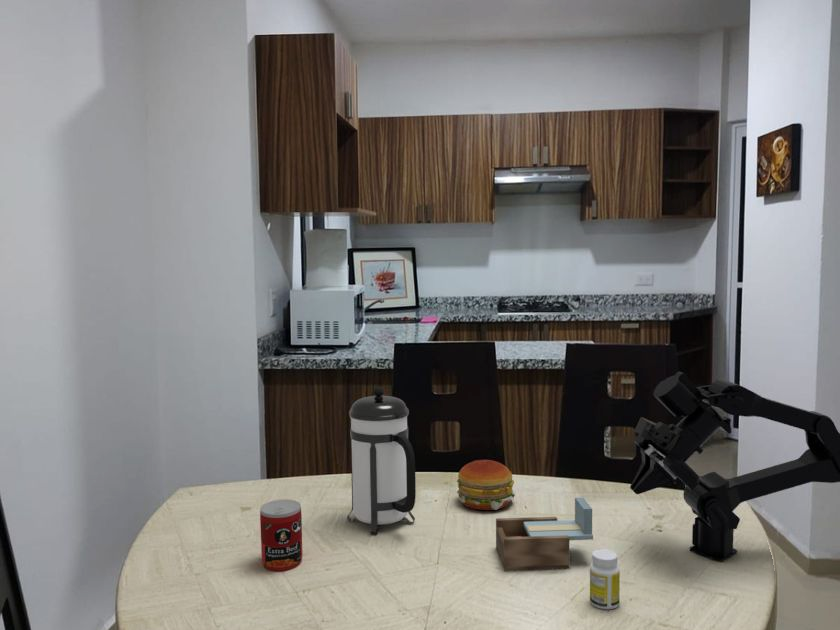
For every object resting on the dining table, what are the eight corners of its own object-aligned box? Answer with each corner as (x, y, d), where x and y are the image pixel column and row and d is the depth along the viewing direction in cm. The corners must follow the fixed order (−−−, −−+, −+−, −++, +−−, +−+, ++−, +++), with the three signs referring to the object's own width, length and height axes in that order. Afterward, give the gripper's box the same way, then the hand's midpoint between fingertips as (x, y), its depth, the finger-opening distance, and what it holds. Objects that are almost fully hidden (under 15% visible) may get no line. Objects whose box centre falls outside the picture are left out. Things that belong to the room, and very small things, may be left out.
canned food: (262, 574, 126) (260, 516, 125) (260, 556, 133) (259, 501, 132) (304, 568, 128) (303, 511, 127) (300, 551, 135) (299, 497, 134)
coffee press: (334, 534, 143) (331, 393, 140) (359, 506, 159) (356, 379, 156) (415, 542, 139) (413, 396, 136) (432, 512, 154) (431, 381, 152)
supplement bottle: (614, 595, 116) (614, 547, 116) (623, 609, 112) (624, 560, 111) (586, 596, 116) (586, 548, 116) (594, 610, 112) (594, 561, 111)
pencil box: (556, 545, 136) (556, 516, 136) (569, 569, 126) (569, 537, 126) (496, 547, 136) (495, 518, 135) (504, 571, 126) (504, 539, 125)
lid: (581, 523, 135) (582, 496, 134) (593, 539, 127) (593, 510, 127) (523, 525, 134) (523, 497, 134) (531, 541, 127) (531, 512, 126)
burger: (449, 496, 165) (449, 456, 164) (502, 490, 168) (502, 451, 167) (467, 517, 152) (467, 473, 151) (524, 510, 155) (524, 467, 154)
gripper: (644, 394, 139) (589, 448, 139) (683, 415, 120) (620, 479, 121) (681, 431, 140) (627, 485, 140) (726, 458, 121) (663, 520, 122)
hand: (633, 491), depth 131 cm, fingers closed
